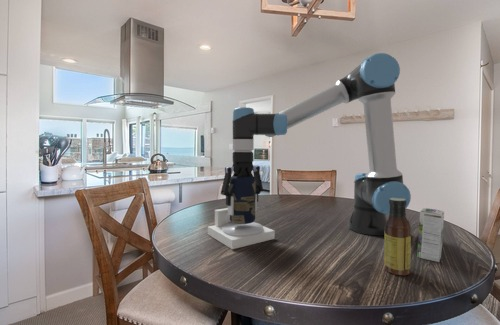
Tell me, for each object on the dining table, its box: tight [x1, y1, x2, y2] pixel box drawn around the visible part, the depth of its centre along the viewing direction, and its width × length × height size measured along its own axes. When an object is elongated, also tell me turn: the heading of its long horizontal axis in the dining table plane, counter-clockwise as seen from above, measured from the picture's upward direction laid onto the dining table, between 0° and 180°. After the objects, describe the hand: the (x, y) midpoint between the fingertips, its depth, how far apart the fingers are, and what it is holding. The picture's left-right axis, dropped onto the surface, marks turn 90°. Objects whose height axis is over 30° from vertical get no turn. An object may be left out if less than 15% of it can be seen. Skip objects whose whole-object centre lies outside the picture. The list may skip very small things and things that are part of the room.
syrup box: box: [416, 207, 445, 263], centre depth 81 cm, size 6×6×14 cm
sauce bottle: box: [383, 198, 412, 276], centre depth 71 cm, size 6×6×20 cm
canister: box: [230, 175, 256, 224], centre depth 97 cm, size 10×10×18 cm
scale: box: [207, 207, 276, 250], centre depth 99 cm, size 18×18×9 cm
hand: (242, 212), depth 97 cm, fingers closed on canister, 9 cm apart
